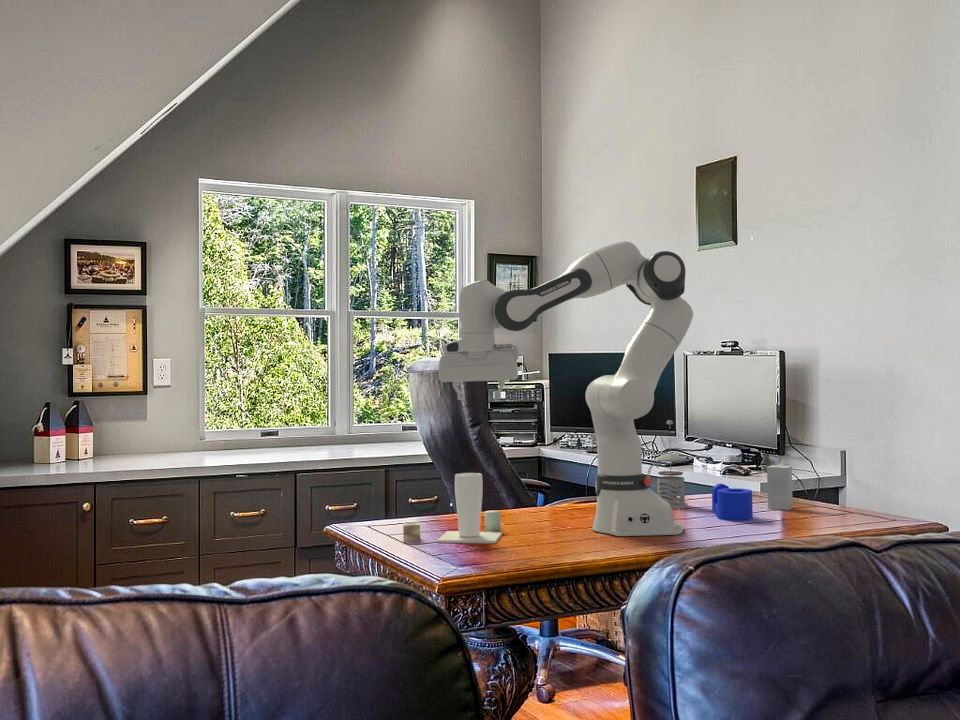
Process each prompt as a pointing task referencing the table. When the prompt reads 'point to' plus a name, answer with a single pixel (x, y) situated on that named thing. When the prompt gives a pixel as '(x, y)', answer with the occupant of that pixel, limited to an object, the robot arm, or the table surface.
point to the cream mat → (469, 538)
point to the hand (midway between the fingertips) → (479, 399)
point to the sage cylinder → (492, 521)
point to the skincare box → (779, 487)
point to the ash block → (411, 532)
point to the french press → (670, 481)
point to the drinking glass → (468, 503)
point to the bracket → (732, 503)
